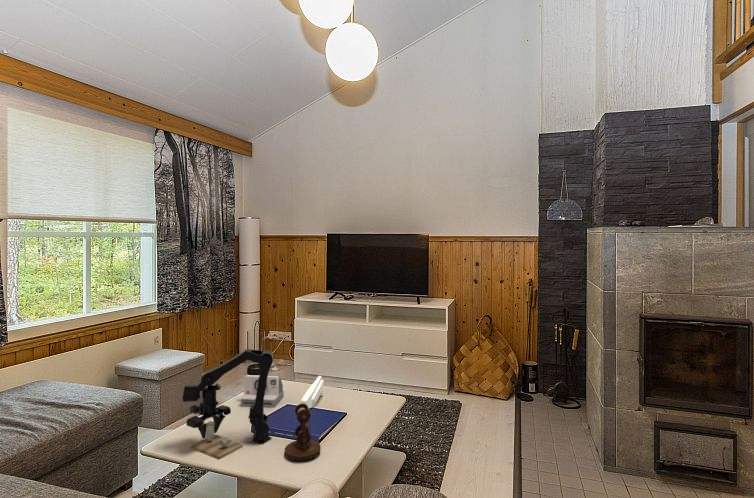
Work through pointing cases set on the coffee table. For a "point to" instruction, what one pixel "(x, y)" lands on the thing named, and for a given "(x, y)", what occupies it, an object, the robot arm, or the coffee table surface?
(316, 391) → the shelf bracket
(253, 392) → the instant camera
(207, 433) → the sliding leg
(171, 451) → the coffee table surface
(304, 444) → the brown wooden tall piece
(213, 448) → the hole plate
